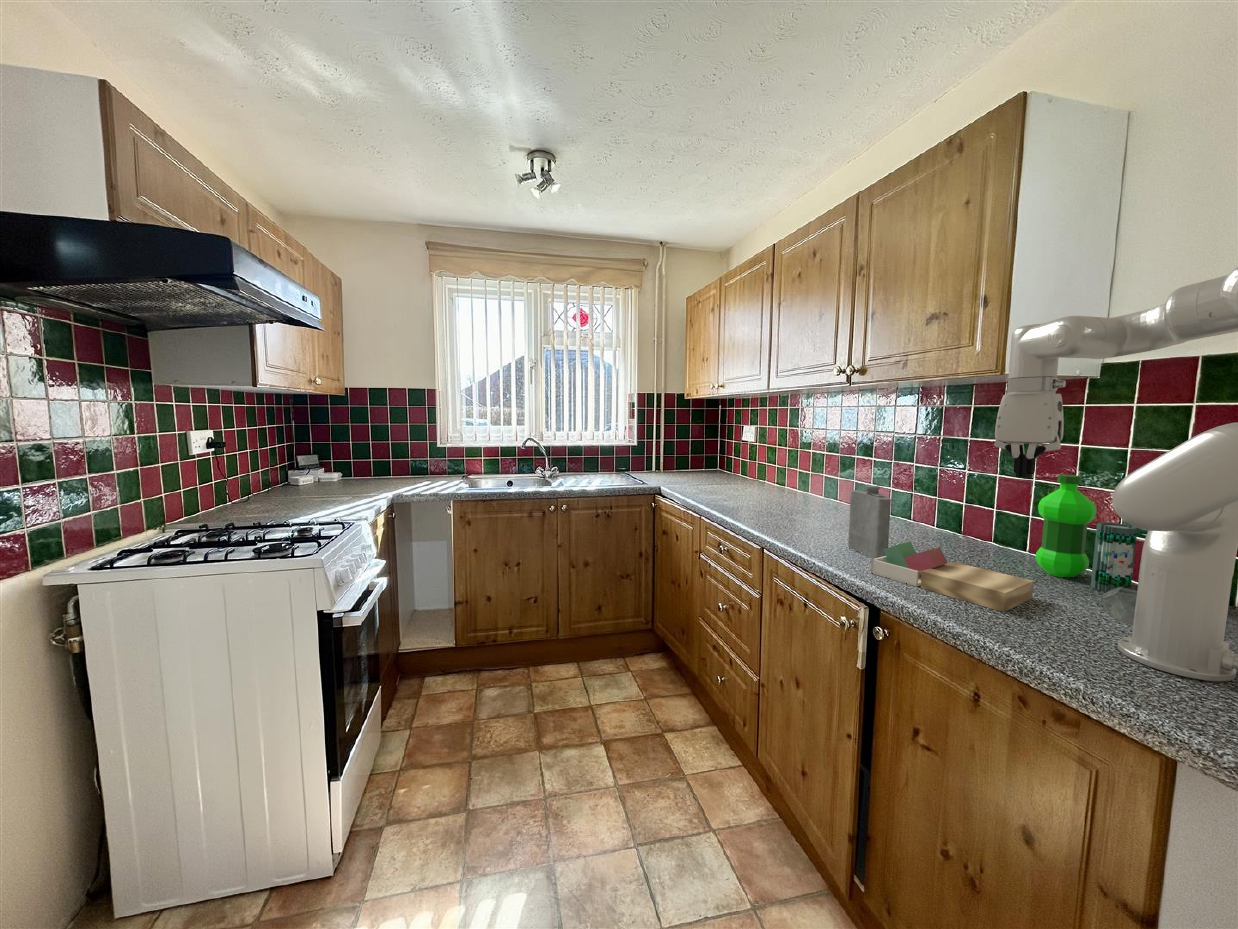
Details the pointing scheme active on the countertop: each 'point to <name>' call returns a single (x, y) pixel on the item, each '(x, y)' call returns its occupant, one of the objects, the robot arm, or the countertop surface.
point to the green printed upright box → (1113, 556)
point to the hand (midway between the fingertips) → (1023, 477)
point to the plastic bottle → (1065, 529)
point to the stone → (1120, 604)
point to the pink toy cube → (926, 560)
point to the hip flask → (869, 522)
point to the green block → (899, 553)
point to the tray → (895, 571)
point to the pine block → (978, 585)
